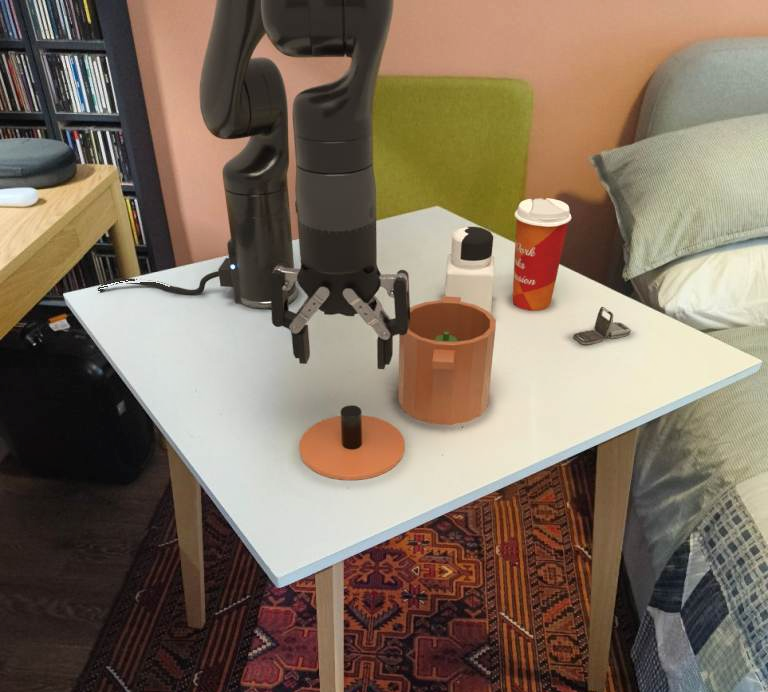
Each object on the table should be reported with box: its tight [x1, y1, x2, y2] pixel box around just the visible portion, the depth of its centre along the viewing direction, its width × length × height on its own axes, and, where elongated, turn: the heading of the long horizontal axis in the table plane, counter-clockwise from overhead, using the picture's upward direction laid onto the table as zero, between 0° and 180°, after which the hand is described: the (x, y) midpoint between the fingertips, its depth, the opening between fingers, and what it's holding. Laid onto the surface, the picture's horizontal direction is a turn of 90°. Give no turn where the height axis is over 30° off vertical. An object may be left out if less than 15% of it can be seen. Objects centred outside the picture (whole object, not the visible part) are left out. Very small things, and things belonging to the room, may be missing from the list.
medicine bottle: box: [444, 226, 495, 315], centre depth 116 cm, size 7×7×12 cm
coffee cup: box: [512, 197, 572, 312], centre depth 117 cm, size 8×8×15 cm
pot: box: [397, 295, 497, 426], centre depth 96 cm, size 11×17×12 cm
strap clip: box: [573, 306, 631, 345], centre depth 112 cm, size 8×3×4 cm, turn 113°
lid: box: [298, 404, 405, 481], centre depth 89 cm, size 12×12×6 cm
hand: (343, 363), depth 83 cm, fingers open, 8 cm apart
